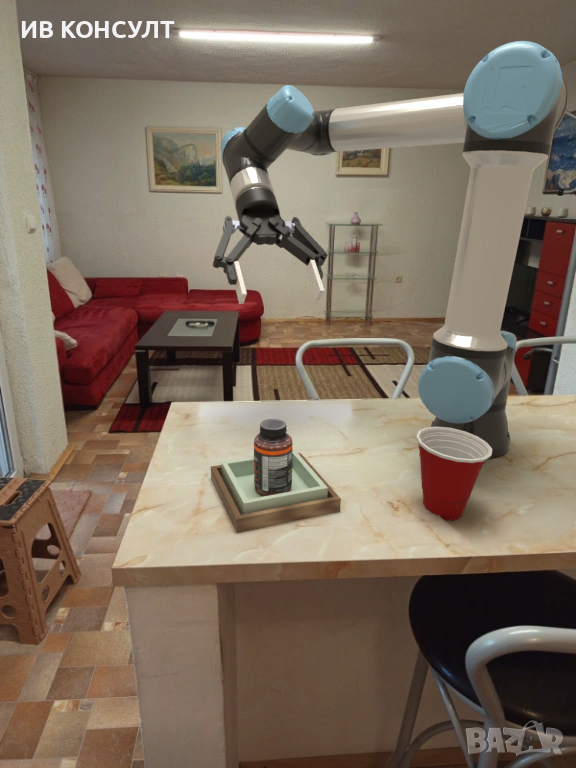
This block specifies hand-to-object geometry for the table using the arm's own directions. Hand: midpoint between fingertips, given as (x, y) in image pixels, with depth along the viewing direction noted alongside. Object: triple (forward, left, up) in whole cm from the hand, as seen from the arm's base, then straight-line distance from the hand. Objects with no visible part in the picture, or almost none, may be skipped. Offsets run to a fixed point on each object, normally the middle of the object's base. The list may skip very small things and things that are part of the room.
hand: (282, 297), depth 85 cm
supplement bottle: (+6, +13, -28) cm, 31 cm away
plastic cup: (-18, +25, -30) cm, 43 cm away
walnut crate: (+6, +13, -30) cm, 33 cm away
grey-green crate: (+6, +13, -29) cm, 32 cm away
